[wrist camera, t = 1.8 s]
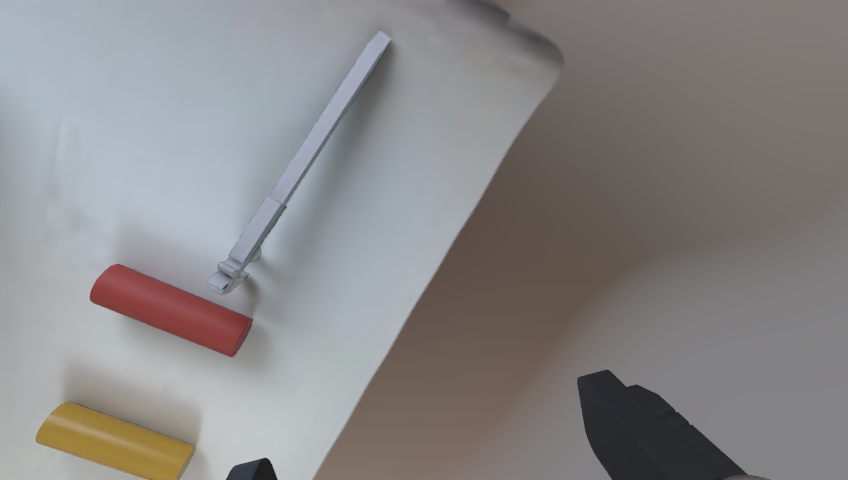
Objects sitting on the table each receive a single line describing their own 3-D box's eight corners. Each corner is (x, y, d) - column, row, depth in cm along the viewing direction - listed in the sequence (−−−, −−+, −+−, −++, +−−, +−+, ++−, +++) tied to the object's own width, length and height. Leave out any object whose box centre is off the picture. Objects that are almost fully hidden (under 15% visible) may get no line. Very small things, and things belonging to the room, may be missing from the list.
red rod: (114, 294, 30) (83, 309, 27) (127, 259, 30) (98, 270, 27) (242, 345, 32) (227, 365, 29) (257, 313, 31) (242, 329, 28)
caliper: (248, 278, 31) (211, 309, 24) (235, 271, 30) (194, 300, 24) (391, 40, 28) (391, 6, 22) (378, 30, 28) (374, -6, 22)
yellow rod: (63, 424, 32) (29, 452, 29) (75, 393, 31) (42, 418, 28) (187, 467, 33) (167, 497, 30) (200, 438, 33) (181, 465, 30)
